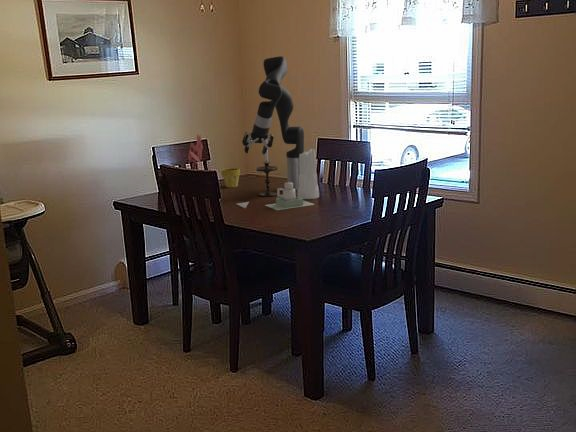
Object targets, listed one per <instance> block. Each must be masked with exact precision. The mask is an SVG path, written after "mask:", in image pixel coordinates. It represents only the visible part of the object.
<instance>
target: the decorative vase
mask: <svg viewBox="0 0 576 432" xmlns="http://www.w3.org/2000/svg"><path fill="white" fill-rule="evenodd" d="M316 159H317V158H316V149H315V148H310V149H308V150H307V151H305V150H304V152H303V153H302V154H300V155H299V165H300V174H299V187H298V190H296V191H297V193H296V194H297V197H299V198H302V199H303V200H312V199H313V200H315V199H318V198H320V189H319V185H318V174H317V161H316Z"/></svg>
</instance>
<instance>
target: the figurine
mask: <svg viewBox="0 0 576 432" xmlns="http://www.w3.org/2000/svg"><path fill="white" fill-rule="evenodd" d="M203 148H204V147H203V143H202V138H201V134H198V133H197V134H196V145H195V144H194V143H193V142H190V147H189V151H188V156H187V157H188V164H189V165H190V164H191V161H192V162H193V163H195V165H196V171H197V170H198V171H199V164H201V161H202V158H203V156H202V152H203ZM192 150H193V151H192ZM195 152H196V153H197V154H195ZM193 159H194V160H193Z"/></svg>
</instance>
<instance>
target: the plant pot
mask: <svg viewBox="0 0 576 432" xmlns="http://www.w3.org/2000/svg"><path fill="white" fill-rule="evenodd" d="M220 172H221V177H223V182H224V185H225V188H237V187H238V186H239V178H240V175H241V169H240V168H238V167H230V168H229V167H228V168H224V169H221V171H220Z"/></svg>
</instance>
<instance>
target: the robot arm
mask: <svg viewBox="0 0 576 432" xmlns="http://www.w3.org/2000/svg"><path fill="white" fill-rule="evenodd" d="M262 64H263V69H264V72H265V80H264V81H263V82H262V83H260V86H259V88H258V95H259V97H260V98H262V99H266V101H265V100H263V101H261V102H260V103H259V104H258V108H257V112H256V115H255V119H254V122H253V126H252V131H251V133H248V132H247V131H246V132H244V135H243V137H242V140H241V142H242V145H243V146H244V150H243V151H244V152H245V154H248V153H249V149H250V147H251V145H253V144H254V143H255V144H262V143H263V148H262V151H261V153H262V155H264V154H265V153H266V151H267V148H268V149H269V148H272V147H273V143H274V138H275V137H274V135H273V133H270V134H269V131H270V129H271V124H272V120H273V119H272V118H273V114H274V110H276V114H277V117H278V120H279V127H280V131H281V137H282V140H283V142H284V144H286V145H295V147H294V148H293V149H291V150H287V151H286V155H285V156H286V170H287V171H286V173H287V174H286V175H287V176H286V177H287V182H292V183H293V188H295V191H298V187H299V174H300V165H299V155H300V154H302V153H303V152H304V151H305V132H304V128H303V127H302V126H290V125H289V119H290V117H291V115H292V113H293V111H294V101H293V98H292V95H291V93H290V92H289V91H288V90H287V89H286V88H285V87H284V86H283V85H281V82H282V80H283V79H284V77H285V76H286V74H287V72H288V65H287V64H288V63H287V60H286V58H285V56H282V55H281V56H279V55H278V56H274V57H269V58H265V59H264V60H263V62H262ZM268 100H269V101H268ZM266 139H267V140H268V141H267V144H266V142H265V140H266Z"/></svg>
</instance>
